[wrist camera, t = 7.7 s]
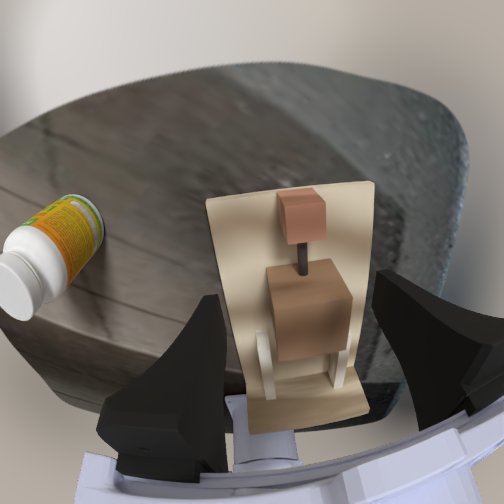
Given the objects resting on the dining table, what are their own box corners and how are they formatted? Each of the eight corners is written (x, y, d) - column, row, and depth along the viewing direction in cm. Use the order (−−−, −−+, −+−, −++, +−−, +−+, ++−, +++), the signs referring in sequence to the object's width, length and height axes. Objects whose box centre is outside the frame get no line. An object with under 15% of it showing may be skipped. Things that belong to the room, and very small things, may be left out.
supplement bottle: (75, 178, 18) (-9, 231, 9) (118, 228, 20) (56, 307, 11) (44, 221, 19) (-27, 282, 10) (83, 265, 21) (27, 341, 12)
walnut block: (328, 308, 23) (346, 350, 19) (271, 317, 23) (279, 362, 19) (329, 185, 18) (358, 210, 14) (257, 193, 18) (264, 221, 14)
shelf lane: (350, 365, 29) (367, 413, 23) (246, 383, 29) (249, 434, 23) (369, 180, 19) (420, 213, 13) (206, 199, 19) (193, 241, 13)
